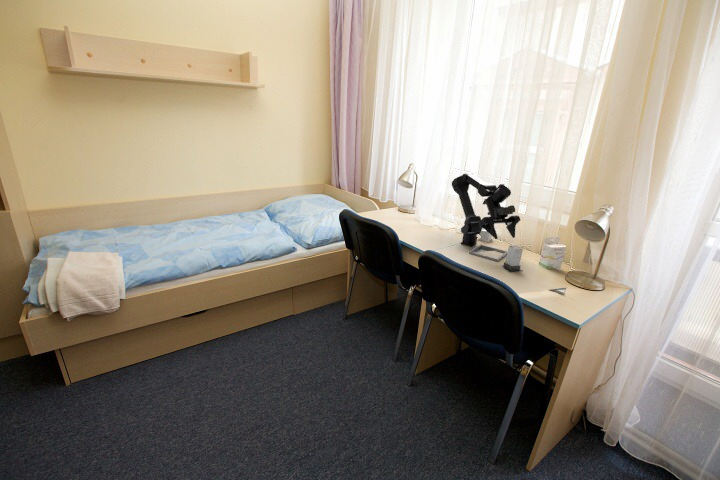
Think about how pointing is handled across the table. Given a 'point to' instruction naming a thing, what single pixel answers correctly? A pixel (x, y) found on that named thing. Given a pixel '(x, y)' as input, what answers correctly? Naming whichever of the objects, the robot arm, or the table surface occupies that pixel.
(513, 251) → the strut
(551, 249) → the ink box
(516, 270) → the stud plate
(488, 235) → the beige cube
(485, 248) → the tray
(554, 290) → the external hard drive
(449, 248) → the table surface
